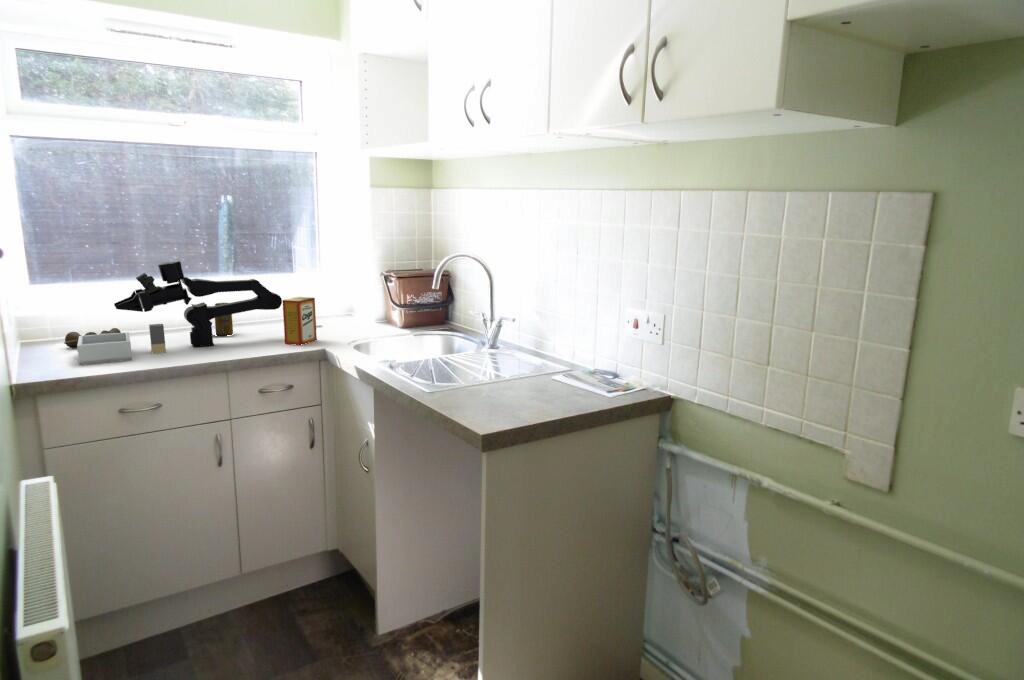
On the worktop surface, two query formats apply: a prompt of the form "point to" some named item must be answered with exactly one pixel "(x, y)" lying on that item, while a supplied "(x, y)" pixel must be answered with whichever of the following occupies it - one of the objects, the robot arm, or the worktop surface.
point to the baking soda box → (299, 320)
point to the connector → (157, 338)
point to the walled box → (104, 348)
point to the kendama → (73, 337)
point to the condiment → (223, 324)
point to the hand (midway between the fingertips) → (115, 306)
